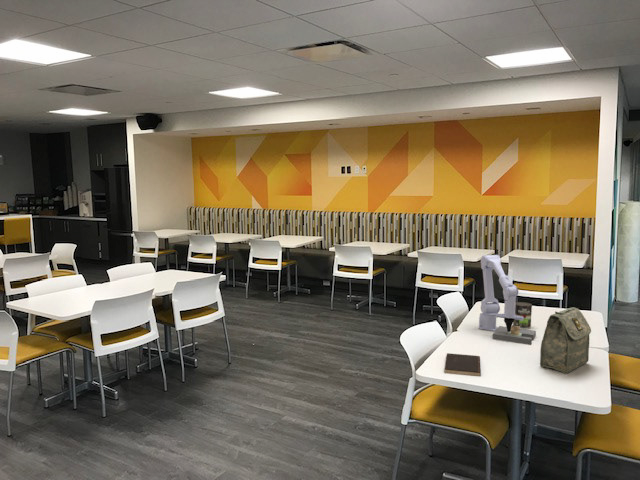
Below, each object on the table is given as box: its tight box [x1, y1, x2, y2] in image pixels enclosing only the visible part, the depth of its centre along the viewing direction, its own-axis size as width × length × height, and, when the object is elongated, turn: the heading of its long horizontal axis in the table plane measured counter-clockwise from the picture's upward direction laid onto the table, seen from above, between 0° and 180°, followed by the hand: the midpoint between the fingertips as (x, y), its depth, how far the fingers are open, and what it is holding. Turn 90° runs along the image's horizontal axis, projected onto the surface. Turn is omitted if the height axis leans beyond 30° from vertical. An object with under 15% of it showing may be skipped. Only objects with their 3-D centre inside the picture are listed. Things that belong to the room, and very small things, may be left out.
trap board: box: [492, 325, 537, 346], centre depth 296 cm, size 20×18×3 cm
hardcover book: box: [444, 352, 482, 377], centre depth 252 cm, size 16×23×2 cm
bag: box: [539, 306, 592, 375], centre depth 251 cm, size 22×16×27 cm
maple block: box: [511, 325, 520, 335], centre depth 292 cm, size 4×4×4 cm
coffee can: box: [512, 301, 533, 330], centre depth 317 cm, size 10×10×14 cm
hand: (508, 331), depth 294 cm, fingers closed
